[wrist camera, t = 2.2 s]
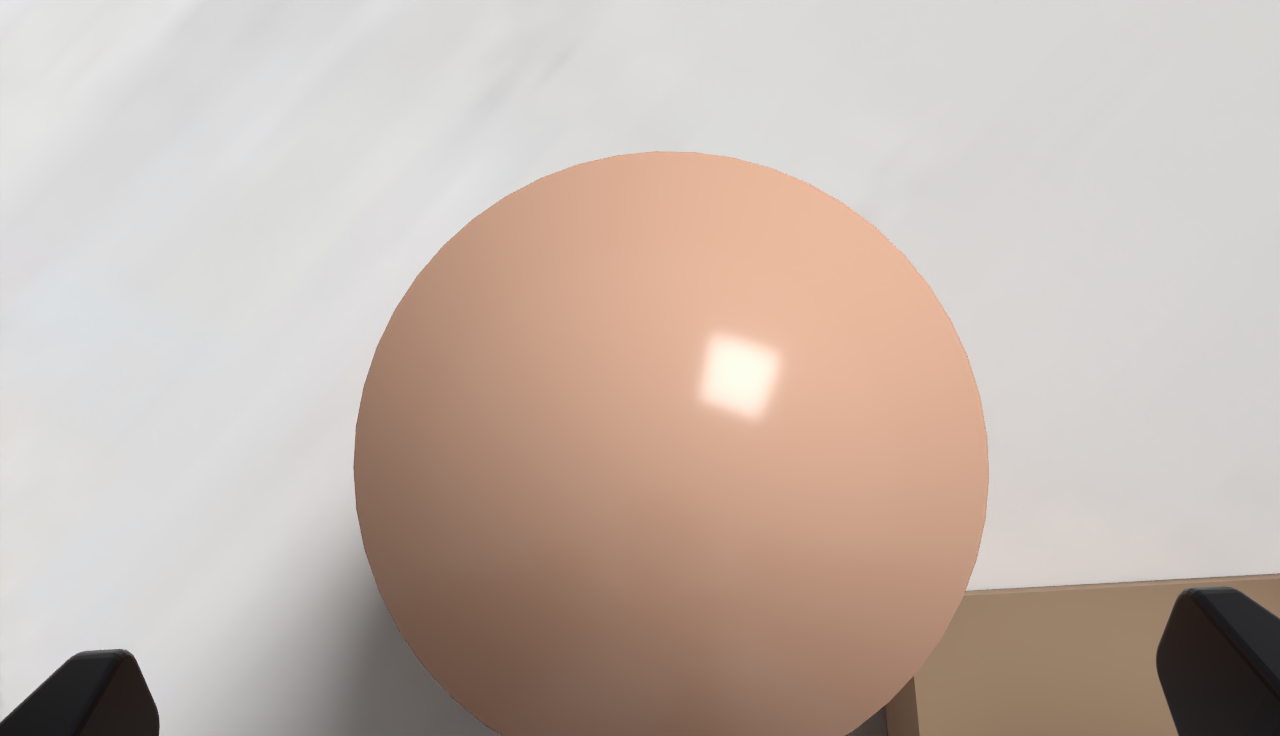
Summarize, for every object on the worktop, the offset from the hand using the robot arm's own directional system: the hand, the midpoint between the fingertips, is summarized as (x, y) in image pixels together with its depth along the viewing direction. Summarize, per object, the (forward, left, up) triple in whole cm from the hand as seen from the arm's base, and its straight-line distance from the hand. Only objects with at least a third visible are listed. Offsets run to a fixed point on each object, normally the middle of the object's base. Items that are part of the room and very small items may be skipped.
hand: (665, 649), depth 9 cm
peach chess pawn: (+2, 0, -9) cm, 9 cm away
